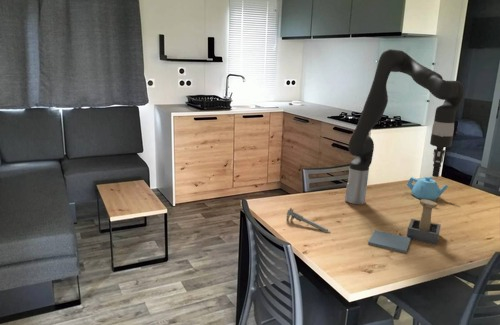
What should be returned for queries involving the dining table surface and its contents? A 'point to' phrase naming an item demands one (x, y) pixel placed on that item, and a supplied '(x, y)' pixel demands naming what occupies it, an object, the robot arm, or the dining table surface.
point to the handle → (426, 214)
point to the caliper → (304, 220)
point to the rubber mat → (389, 241)
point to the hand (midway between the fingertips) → (435, 173)
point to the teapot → (425, 188)
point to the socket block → (423, 232)
